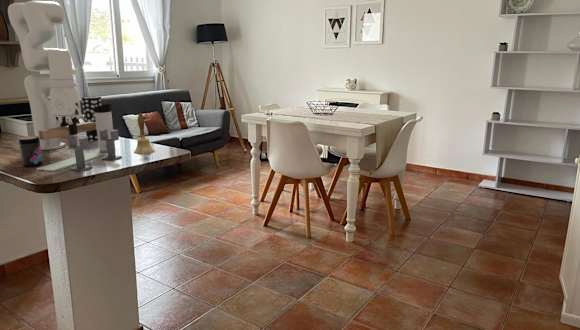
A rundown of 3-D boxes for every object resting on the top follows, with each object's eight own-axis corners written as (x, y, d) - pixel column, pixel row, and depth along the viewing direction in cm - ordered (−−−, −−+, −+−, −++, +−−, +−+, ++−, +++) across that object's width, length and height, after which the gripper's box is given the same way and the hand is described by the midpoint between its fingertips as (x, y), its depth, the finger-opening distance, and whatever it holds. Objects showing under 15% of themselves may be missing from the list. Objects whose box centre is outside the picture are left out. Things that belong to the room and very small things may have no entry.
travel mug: (110, 153, 180) (105, 104, 175) (96, 152, 181) (90, 104, 176) (119, 150, 186) (114, 102, 181) (105, 149, 187) (99, 102, 182)
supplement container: (27, 168, 157) (22, 140, 155) (19, 166, 161) (14, 138, 159) (46, 164, 162) (42, 137, 160) (38, 162, 166) (34, 135, 164)
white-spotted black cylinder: (93, 137, 214) (88, 96, 210) (109, 137, 213) (104, 96, 208) (83, 140, 207) (77, 98, 202) (99, 141, 205) (94, 98, 200)
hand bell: (134, 154, 177) (130, 115, 173) (133, 150, 185) (129, 113, 181) (155, 152, 181) (152, 114, 177) (153, 148, 188) (150, 111, 184)
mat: (36, 170, 155) (36, 168, 155) (89, 154, 179) (89, 152, 179) (54, 171, 153) (54, 170, 153) (106, 155, 177) (105, 153, 177)
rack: (69, 170, 154) (64, 138, 151) (110, 157, 173) (106, 128, 170) (83, 171, 152) (78, 139, 149) (122, 158, 171) (119, 129, 169)
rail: (39, 139, 152) (38, 130, 152) (89, 129, 175) (89, 121, 174) (46, 139, 152) (45, 131, 151) (96, 129, 174) (95, 121, 173)
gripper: (36, 84, 158) (44, 135, 162) (73, 85, 153) (80, 137, 157) (53, 83, 165) (60, 131, 169) (88, 83, 160) (95, 133, 164)
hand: (69, 133), depth 163 cm, fingers closed on rail, 3 cm apart
